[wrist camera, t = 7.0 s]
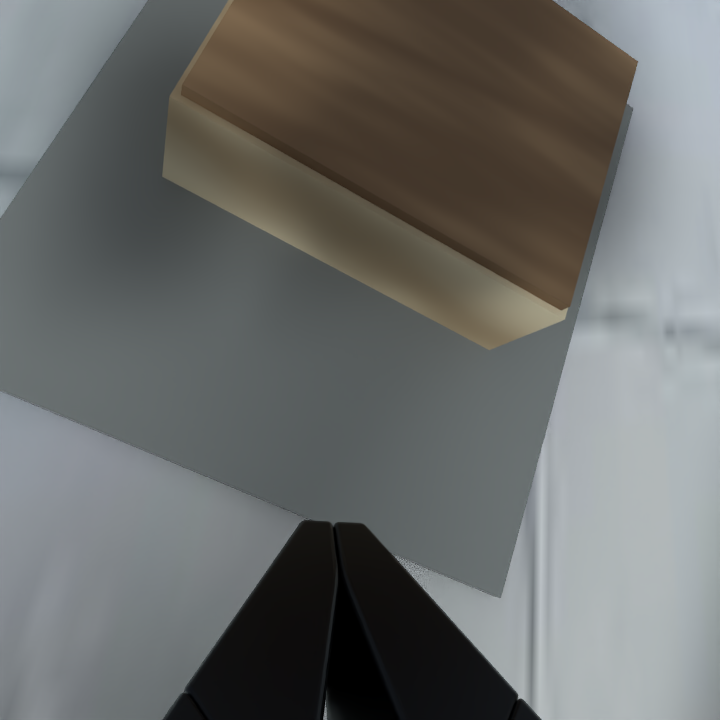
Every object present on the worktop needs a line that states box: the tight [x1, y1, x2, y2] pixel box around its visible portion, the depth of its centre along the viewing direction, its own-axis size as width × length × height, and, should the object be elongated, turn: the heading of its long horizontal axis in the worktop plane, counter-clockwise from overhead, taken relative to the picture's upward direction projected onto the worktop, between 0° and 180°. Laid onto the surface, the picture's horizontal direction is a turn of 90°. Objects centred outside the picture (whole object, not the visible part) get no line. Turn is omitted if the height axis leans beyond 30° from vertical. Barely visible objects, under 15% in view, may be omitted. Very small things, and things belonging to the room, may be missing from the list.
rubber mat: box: [0, 0, 633, 598], centre depth 21 cm, size 21×18×1 cm
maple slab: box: [162, 0, 638, 350], centre depth 19 cm, size 4×12×10 cm
